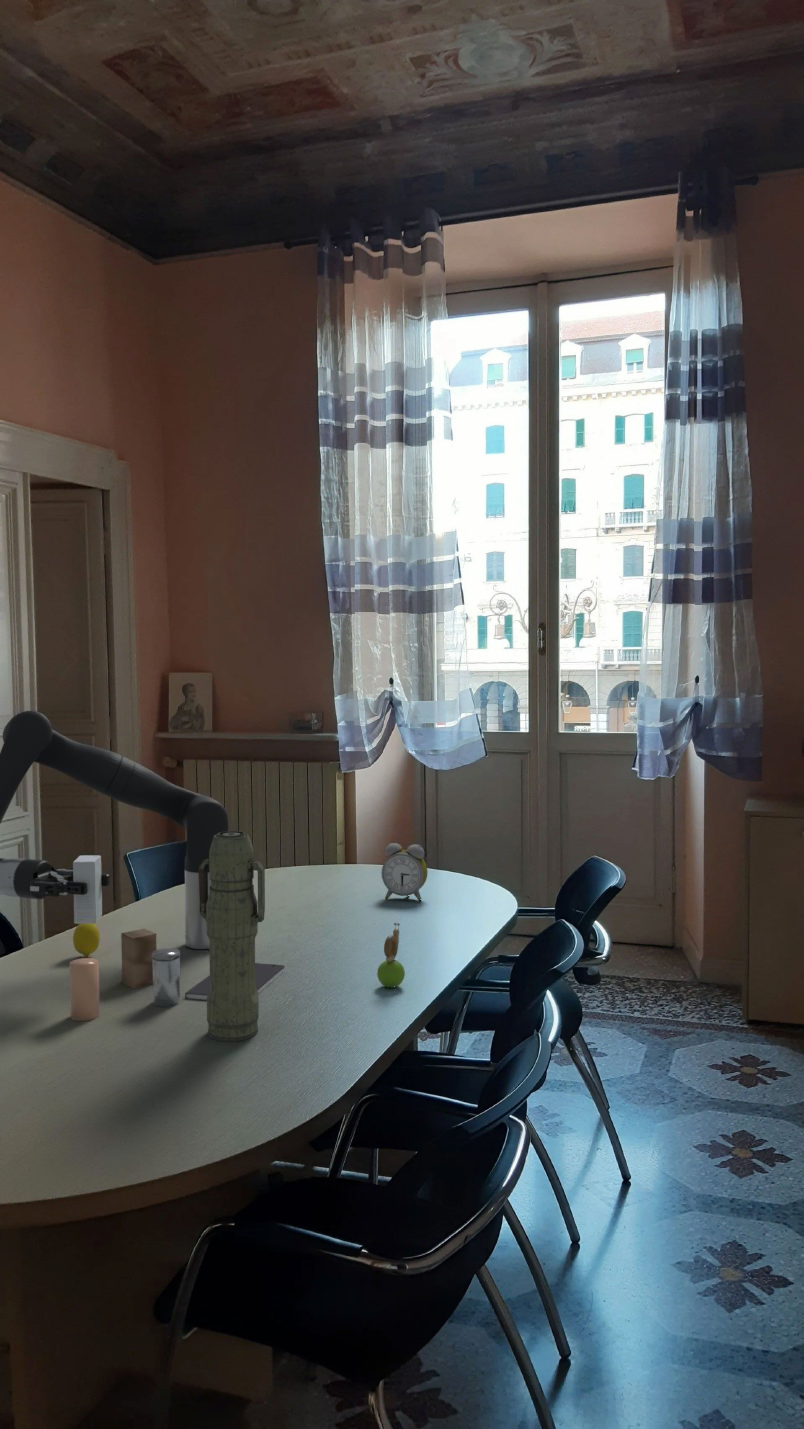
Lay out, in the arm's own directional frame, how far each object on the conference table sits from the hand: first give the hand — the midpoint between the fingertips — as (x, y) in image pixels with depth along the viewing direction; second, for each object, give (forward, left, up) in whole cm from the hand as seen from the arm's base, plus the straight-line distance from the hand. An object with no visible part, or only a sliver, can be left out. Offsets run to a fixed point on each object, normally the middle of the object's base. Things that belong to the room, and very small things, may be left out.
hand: (97, 884), depth 202 cm
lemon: (0, -27, -22) cm, 35 cm away
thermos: (-19, +29, -22) cm, 41 cm away
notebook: (-26, +3, -22) cm, 35 cm away
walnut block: (-8, -5, -22) cm, 24 cm away
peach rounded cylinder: (+4, +11, -22) cm, 24 cm away
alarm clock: (-84, -50, -22) cm, 101 cm away
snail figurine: (-54, +16, -22) cm, 61 cm away
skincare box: (+2, -1, -7) cm, 8 cm away
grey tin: (-11, +9, -22) cm, 26 cm away
